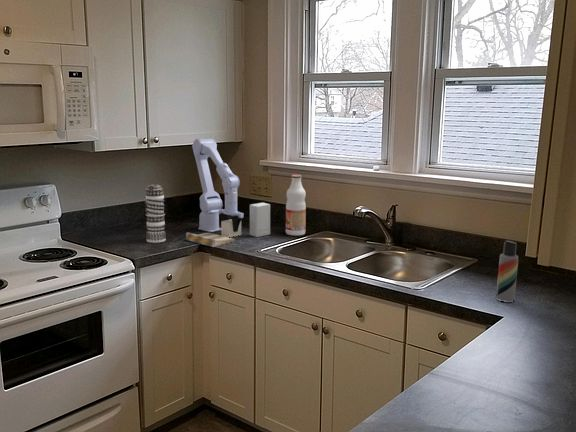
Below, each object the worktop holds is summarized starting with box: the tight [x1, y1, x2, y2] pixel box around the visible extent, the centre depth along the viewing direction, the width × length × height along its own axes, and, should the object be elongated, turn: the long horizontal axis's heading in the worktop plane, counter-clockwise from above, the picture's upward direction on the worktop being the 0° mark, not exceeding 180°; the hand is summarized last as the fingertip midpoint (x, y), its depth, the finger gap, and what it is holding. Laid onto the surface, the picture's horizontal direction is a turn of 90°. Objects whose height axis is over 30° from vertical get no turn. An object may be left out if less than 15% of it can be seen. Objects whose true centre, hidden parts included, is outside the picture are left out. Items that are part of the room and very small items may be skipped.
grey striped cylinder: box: [144, 183, 167, 244], centre depth 260 cm, size 9×9×25 cm
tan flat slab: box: [185, 231, 236, 248], centre depth 263 cm, size 18×14×3 cm
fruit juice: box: [285, 174, 307, 236], centre depth 277 cm, size 9×9×28 cm
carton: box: [220, 218, 242, 238], centre depth 273 cm, size 5×8×7 cm, turn 139°
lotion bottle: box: [495, 240, 519, 301], centre depth 190 cm, size 6×6×20 cm
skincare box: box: [249, 202, 271, 238], centre depth 274 cm, size 8×6×15 cm
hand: (231, 230), depth 274 cm, fingers closed on carton, 5 cm apart
